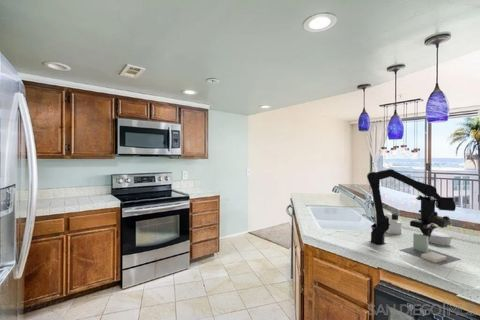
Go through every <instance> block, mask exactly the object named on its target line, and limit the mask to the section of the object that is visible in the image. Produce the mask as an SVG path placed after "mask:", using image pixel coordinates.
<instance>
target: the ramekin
mask: <svg viewBox="0 0 480 320" xmlns="http://www.w3.org/2000/svg"><path fill="white" fill-rule="evenodd" d="M452 238H453V235H451V233H447V232H444V231H438V230H433V231H432V233H431V235H430V238H429V240H428V243H432V244H435V245H439V246H446V247H448V246H450V245H451V241H452Z"/></svg>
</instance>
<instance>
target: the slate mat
mask: <svg viewBox="0 0 480 320" xmlns="http://www.w3.org/2000/svg"><path fill="white" fill-rule="evenodd" d="M399 251H400V252H403V253H405V254H407V255H408V254H409V255H411V256H414V257H416V258H419V259H422V260H425V261H427V262H430V263H432V264H435V265H439V266H442V265H443V266H444V265H446V264H450V263H452V262H453V263H454V262H457V261H461V260H462V259H461V258H458V257H457V256H456V257H455V256H452V255H449V254H446V253H443V252H440V251H438V250H434V249H432V248H428V253H429V252H434V253H437V254H440V255H443V256H446V257H447V260H445V261H442V262H438V263H434V262H431V261H429V260H426V259H423V258H421V254H425V252H422V251H419V250H416V249H413V246H410V247H406V248H402V249H399Z"/></svg>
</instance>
